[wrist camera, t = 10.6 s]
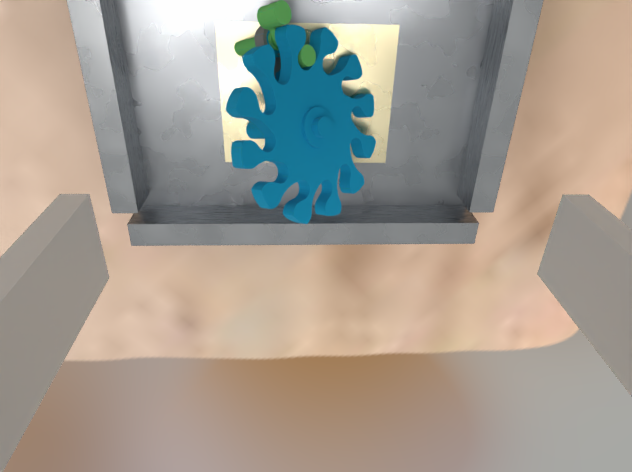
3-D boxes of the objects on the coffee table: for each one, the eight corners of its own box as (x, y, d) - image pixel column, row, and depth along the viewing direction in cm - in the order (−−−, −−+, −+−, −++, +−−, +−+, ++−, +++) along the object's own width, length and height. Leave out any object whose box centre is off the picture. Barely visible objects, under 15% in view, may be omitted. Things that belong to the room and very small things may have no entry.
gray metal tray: (81, -82, 24) (47, -89, 21) (523, -68, 26) (560, -72, 22) (136, 215, 33) (119, 245, 29) (465, 214, 34) (485, 243, 31)
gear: (396, 185, 29) (276, 258, 23) (326, 181, 33) (208, 241, 27) (364, -15, 25) (208, 9, 19) (288, 9, 29) (140, 35, 23)
